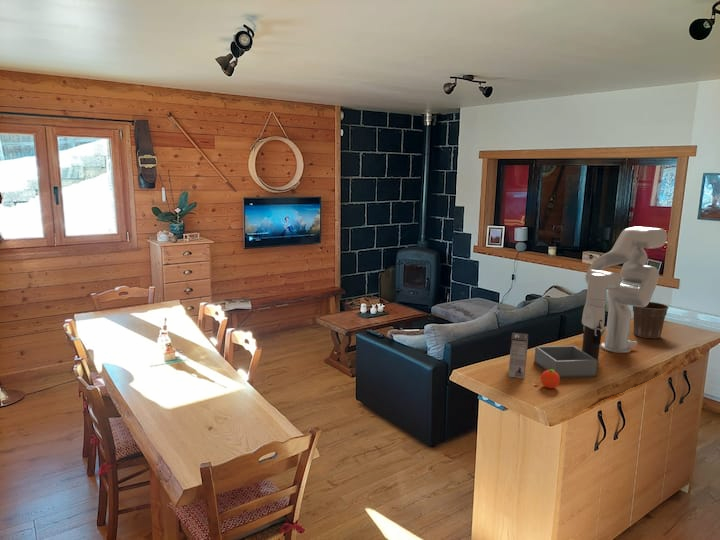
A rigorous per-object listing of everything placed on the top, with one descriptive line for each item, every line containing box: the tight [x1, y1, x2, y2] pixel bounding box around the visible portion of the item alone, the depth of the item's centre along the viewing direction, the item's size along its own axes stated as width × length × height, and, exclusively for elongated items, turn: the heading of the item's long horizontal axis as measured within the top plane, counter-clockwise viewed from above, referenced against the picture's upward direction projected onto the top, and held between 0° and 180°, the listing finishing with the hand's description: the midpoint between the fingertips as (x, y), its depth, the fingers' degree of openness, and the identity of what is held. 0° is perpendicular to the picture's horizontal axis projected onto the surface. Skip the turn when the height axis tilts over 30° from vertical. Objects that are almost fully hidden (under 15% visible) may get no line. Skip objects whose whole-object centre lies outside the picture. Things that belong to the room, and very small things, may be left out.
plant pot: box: [632, 301, 670, 340], centre depth 260 cm, size 16×16×16 cm
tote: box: [533, 345, 598, 379], centre depth 214 cm, size 18×18×7 cm
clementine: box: [540, 369, 561, 389], centre depth 195 cm, size 8×7×7 cm
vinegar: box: [581, 326, 601, 363], centre depth 223 cm, size 7×7×20 cm
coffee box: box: [508, 332, 529, 379], centre depth 207 cm, size 9×6×16 cm
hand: (591, 341), depth 224 cm, fingers closed on vinegar, 6 cm apart
